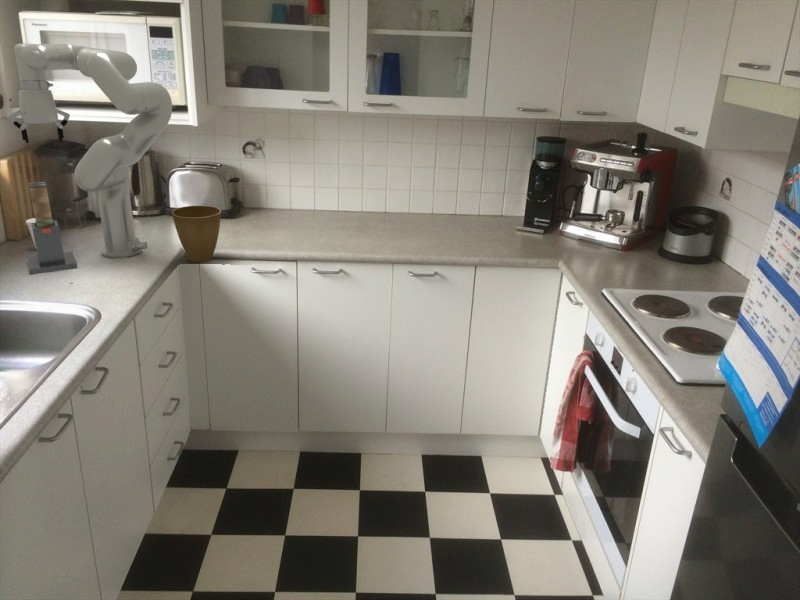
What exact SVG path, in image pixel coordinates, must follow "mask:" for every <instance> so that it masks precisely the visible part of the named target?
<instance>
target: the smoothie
mask: <svg viewBox="0 0 800 600" xmlns="http://www.w3.org/2000/svg"><path fill="white" fill-rule="evenodd" d="M35 222H36V220H35V217H33V218H28V219H27V220H25V224H26V226H27V228H28V230H29V232H30V236H31V239H32V242H33V244H34V247H35V248H34V249H36V245H35V240H34V235H33V229H32V224H31V223H35Z"/></svg>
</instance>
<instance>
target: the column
mask: <svg viewBox="0 0 800 600" xmlns="http://www.w3.org/2000/svg"><path fill="white" fill-rule="evenodd" d="M28 187H29V188H28V189H29V192H30V198H31V202H32V208H33V214H34V218H35V220H36V225H37V227H45V226H53V221H54V219H53V216H52V215H53V214H52V211H51V205H50V201H49V200H50V199H49V193H48V189H47V184H46V182H45V181H39V182H28Z"/></svg>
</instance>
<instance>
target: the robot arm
mask: <svg viewBox="0 0 800 600" xmlns="http://www.w3.org/2000/svg"><path fill="white" fill-rule="evenodd" d="M14 54H15V61H16V66H17V71H18V77H19V83H20V88H21V90H20V89H19V90H18V103H19V109H17V110H16V111H14V112H12V113H11V114H9V115H8V116H7V117H8V119H9V120H10V121H11V123H12V124H13V125H14V126H15V127H17V128H18V129H19V130H20V131H21V137H22V141H25V143H26V144H29V136H28V131H27V129H26V128H27V126H28V125H35V124H37V125H38V124H55V125H56V126H57V128H56V132H57V137H58V141H59V142H63V139H65V138H64V137H65V136H64V130H63V128H64V127H65V126H66V125H67V123H68V122H69V120H70V116H71V115H70V114H69V113H68V112H65V111H63V110H61V109H59V108H57V106H56V100H55V99H54V95H53V93H52V90H51V89H50V88H51V87H54V83H53V81H49V80H48V77H47V71H58V70H59V71H60V70H73V71H79V72H80V73H81V74H82V75H83V76H84V77H87V78H91V79H92V80H93V82H94V83H95V85H96V86H97V88H99V89H100V90H101V92H102V93H103V94H104V95H105V96H106V98H107V99H108V100H109V101H110V102H111V103H112V105H114V107H115V108H116V109H117V110H118V111H120V112H121V113H123V114H126V115H130V116H134V115H135V117H134V118H132V119H131V120H130V121H129V123H128V124H127V126H126V127H125V128H124V129H123V130H122V131H121V132H120V133H118V134H115V135H110V136H105V137H103V138H100V139H98V140H96V141H95V142H93V144H92V145H91V146H90V148H89V149H88V150H87V151H86V153H84V155H83V156H82V158H80V160H79V162H78V163H77V165H76V167H75V170H74V181H75V183H76V185H77V186H78V187H79V188H80V189H81V190H83V191H84V192H87V193H88V192H89V193H96V192H98V207H99V215H100V220H101V228H102V234H103V240H104V247H103V248H102V249H101V250H100V254H101V255H102V256H103V257H106V258H111V259H118V258H119V259H120V258H121V259H122V258H129V257H132V256H136V255H138V254H140V253H141V252H142V251H143V250H147V249H148V243H147V242H146V241H140V240H139V238H140V237H136V233H135V232H136V231H135V224H134V220H133V219H134V218H133V211H132V210H133V209H132V203H131V193H130V181H131V172H130V171H131V169H130V167H129V166H132V165H136V164H137V163H138V162H139V161H140V160H141V158H142V157H143V156H144V155H145V153H146V152H148V150H149V148H150V147H151V146H152V145H153V144H154V142H155V141H156V140H157V138H158V137H159V136H160V135H161V133H162V132H164V130H165V129H166V128H167V126H168V124H169V122H170V120H171V118H172V114H173V113H172V111H173V101H172V98H171V95H170V93H169V91H168V90H167V88H166V87H165V86H163V85H162V84H160V83H158V82H152V81H151V82H150V81H146V82H137V83H136V82H135V83H130V82H129V81H130V80H132V79H133V78H134V77H135V76H136V74H137V72H138V65H137V62H136V60H135V58H134V57H133V56H132V55H130V54H128V53H127V52H124V51H120V50H112V49H104V48H96V47H89V46H83V45H75V44H67V43H39V44H37V43H17V44H14ZM59 115H61V116H63V119H62V120H61V122H60V121H59ZM19 116H20V117H21V120H22V123H20V122H18V121H17V120H16V118H18V117H19Z"/></svg>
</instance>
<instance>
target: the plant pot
mask: <svg viewBox="0 0 800 600" xmlns="http://www.w3.org/2000/svg"><path fill="white" fill-rule="evenodd" d="M171 214H172V218H173V223H174V226H175V230H176V232H177V235H178V239H179V241H180V244H181V246H182V248H183V251H184V253H185V255H186V257H187V259H188V260H189V261H190V262H193V263H204V262H209V261H211V260H212V259H213V257H214V253H215V250H216V247H217V243H218V239H219V233H220V227H221V217H222V210H221V209H220V208H219V207H217V206H216V207H215V206H212V205H188V206H187V205H186V206H181V207H178V208H175V209H173V210H172V211H171Z"/></svg>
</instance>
